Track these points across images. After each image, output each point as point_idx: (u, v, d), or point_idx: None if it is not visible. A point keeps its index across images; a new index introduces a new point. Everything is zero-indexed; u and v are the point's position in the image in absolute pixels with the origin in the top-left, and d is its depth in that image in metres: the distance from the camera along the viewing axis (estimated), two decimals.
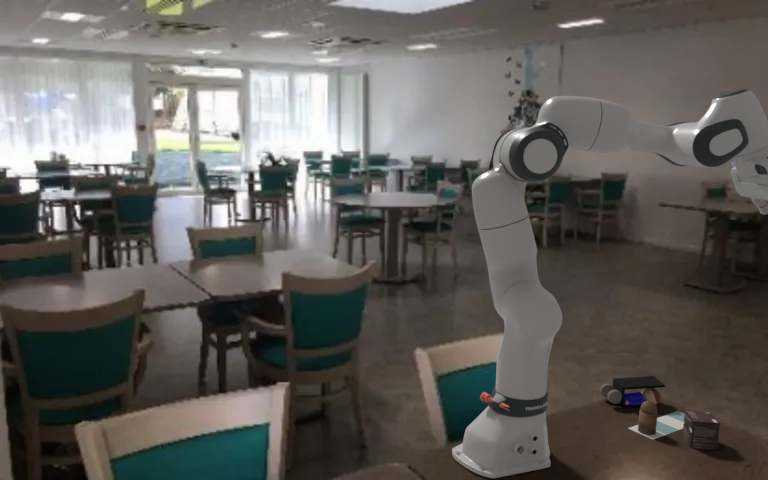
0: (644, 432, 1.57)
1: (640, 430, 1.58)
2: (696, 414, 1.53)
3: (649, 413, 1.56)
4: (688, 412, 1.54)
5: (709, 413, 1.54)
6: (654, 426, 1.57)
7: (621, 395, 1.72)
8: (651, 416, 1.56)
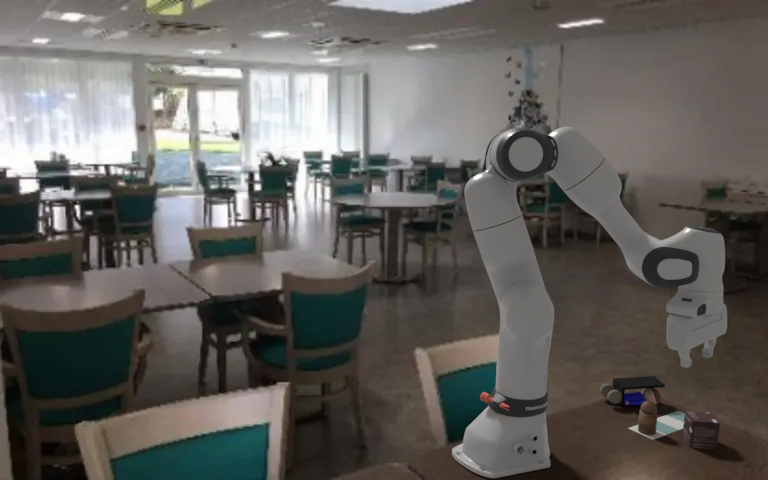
0: (644, 432, 1.57)
1: (640, 430, 1.58)
2: (696, 414, 1.53)
3: (649, 413, 1.56)
4: (688, 412, 1.54)
5: (709, 413, 1.54)
6: (654, 426, 1.57)
7: (621, 395, 1.72)
8: (651, 416, 1.56)
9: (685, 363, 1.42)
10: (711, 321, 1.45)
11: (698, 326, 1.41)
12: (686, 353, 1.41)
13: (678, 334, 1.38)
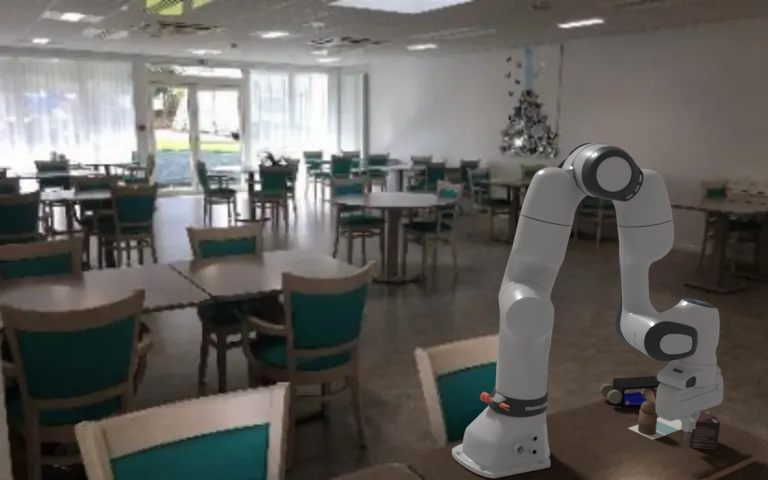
0: (644, 432, 1.57)
1: (640, 430, 1.58)
2: None
3: (649, 413, 1.56)
4: None
5: (709, 413, 1.54)
6: (654, 426, 1.57)
7: (621, 395, 1.72)
8: (651, 416, 1.56)
9: (685, 427, 1.48)
10: (704, 392, 1.48)
11: (688, 397, 1.45)
12: (686, 418, 1.47)
13: (666, 404, 1.42)
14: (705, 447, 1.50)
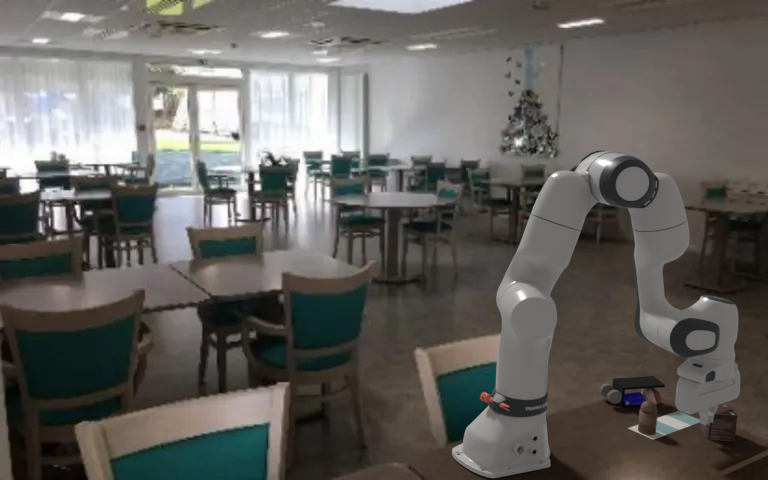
0: (644, 432, 1.57)
1: (640, 430, 1.58)
2: None
3: (649, 413, 1.56)
4: None
5: (726, 406, 1.58)
6: (654, 426, 1.57)
7: (621, 395, 1.72)
8: (651, 416, 1.56)
9: (704, 420, 1.53)
10: (722, 386, 1.52)
11: (707, 391, 1.49)
12: (705, 412, 1.51)
13: (686, 398, 1.47)
14: (723, 439, 1.54)
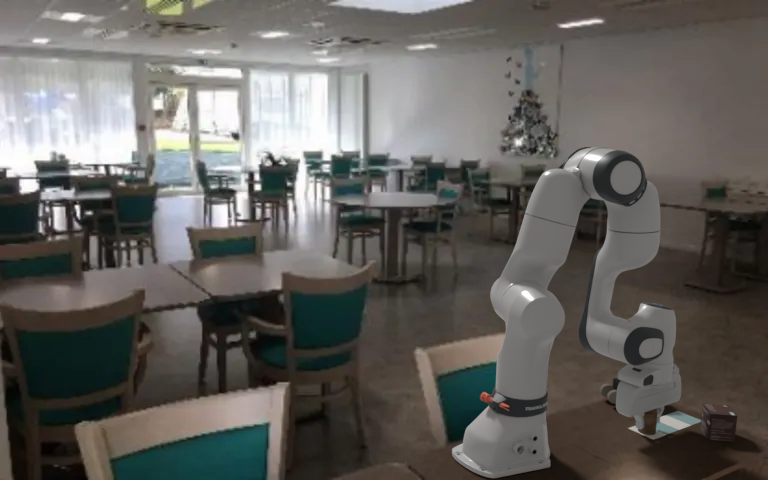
0: (644, 432, 1.57)
1: (640, 430, 1.58)
2: (714, 407, 1.57)
3: (649, 413, 1.56)
4: (706, 405, 1.58)
5: (726, 406, 1.58)
6: (654, 426, 1.57)
7: None
8: (651, 416, 1.56)
9: (639, 425, 1.56)
10: (662, 389, 1.57)
11: (647, 394, 1.54)
12: (639, 416, 1.55)
13: (625, 401, 1.51)
14: (723, 439, 1.55)
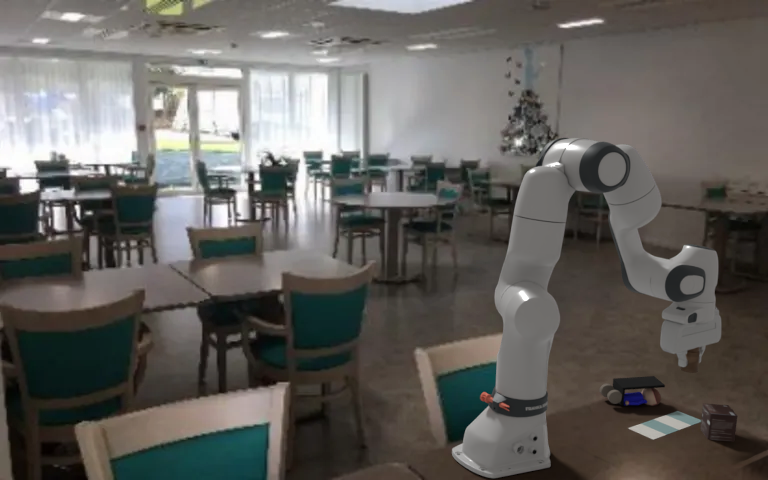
0: (687, 370, 1.63)
1: (683, 368, 1.64)
2: (714, 407, 1.57)
3: (692, 351, 1.62)
4: (706, 405, 1.58)
5: (726, 406, 1.58)
6: (696, 364, 1.63)
7: (621, 395, 1.72)
8: (694, 354, 1.62)
9: (682, 363, 1.62)
10: (704, 329, 1.63)
11: (690, 332, 1.60)
12: (683, 354, 1.61)
13: (670, 338, 1.57)
14: (723, 439, 1.55)
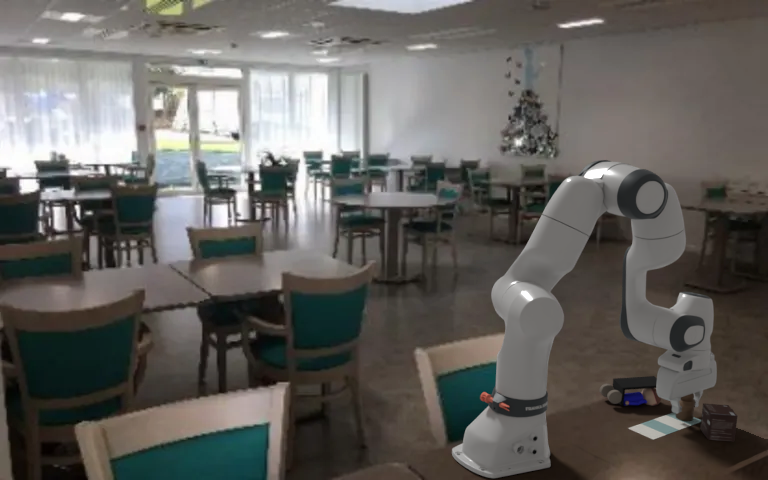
0: (682, 418, 1.65)
1: (678, 417, 1.66)
2: (714, 407, 1.57)
3: (687, 400, 1.64)
4: (706, 405, 1.58)
5: (726, 406, 1.58)
6: (691, 413, 1.65)
7: (621, 395, 1.72)
8: (689, 403, 1.64)
9: (675, 409, 1.64)
10: (700, 375, 1.65)
11: (685, 379, 1.62)
12: (676, 401, 1.62)
13: (665, 385, 1.59)
14: (723, 439, 1.55)
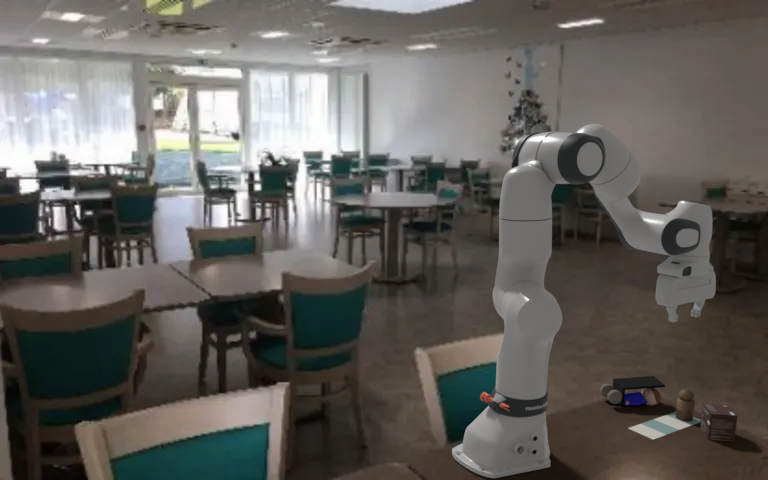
0: (682, 418, 1.65)
1: (678, 417, 1.66)
2: (714, 407, 1.57)
3: (687, 400, 1.64)
4: (706, 405, 1.58)
5: (726, 406, 1.58)
6: (692, 413, 1.65)
7: (621, 395, 1.72)
8: (689, 403, 1.64)
9: (672, 318, 1.64)
10: (699, 284, 1.66)
11: (684, 286, 1.63)
12: (672, 309, 1.63)
13: (665, 291, 1.60)
14: (723, 439, 1.55)
